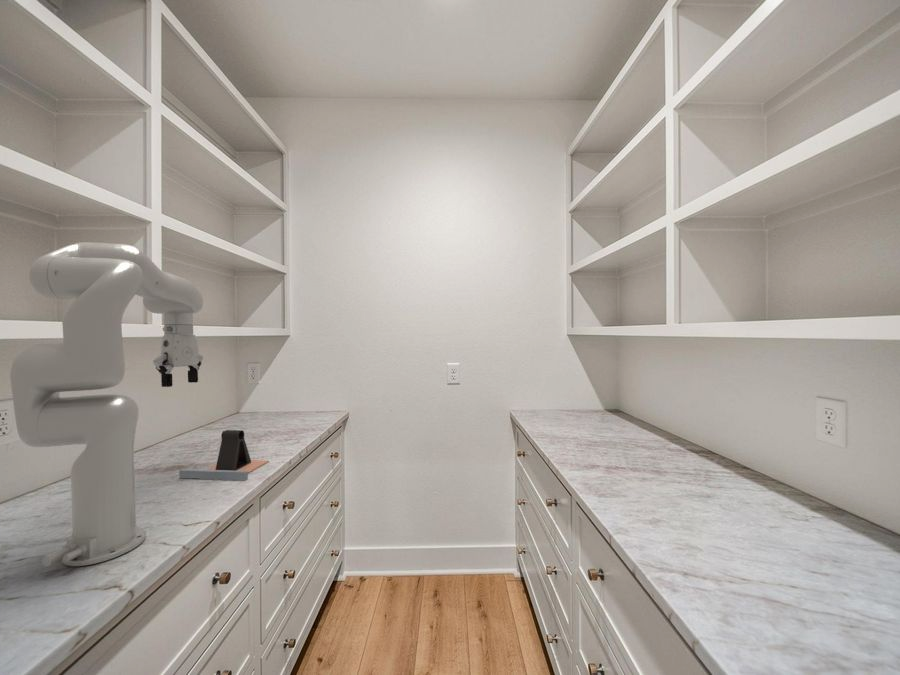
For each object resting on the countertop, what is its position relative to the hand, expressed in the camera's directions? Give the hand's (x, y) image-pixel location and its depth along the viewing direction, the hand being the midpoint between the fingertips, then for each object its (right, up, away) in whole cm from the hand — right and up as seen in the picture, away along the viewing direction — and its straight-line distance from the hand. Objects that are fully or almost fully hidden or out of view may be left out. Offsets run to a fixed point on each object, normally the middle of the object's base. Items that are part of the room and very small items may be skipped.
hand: (180, 384), depth 118 cm
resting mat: (+15, -28, +3) cm, 32 cm away
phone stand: (+15, -28, +3) cm, 32 cm away
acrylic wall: (+14, -28, -5) cm, 32 cm away
